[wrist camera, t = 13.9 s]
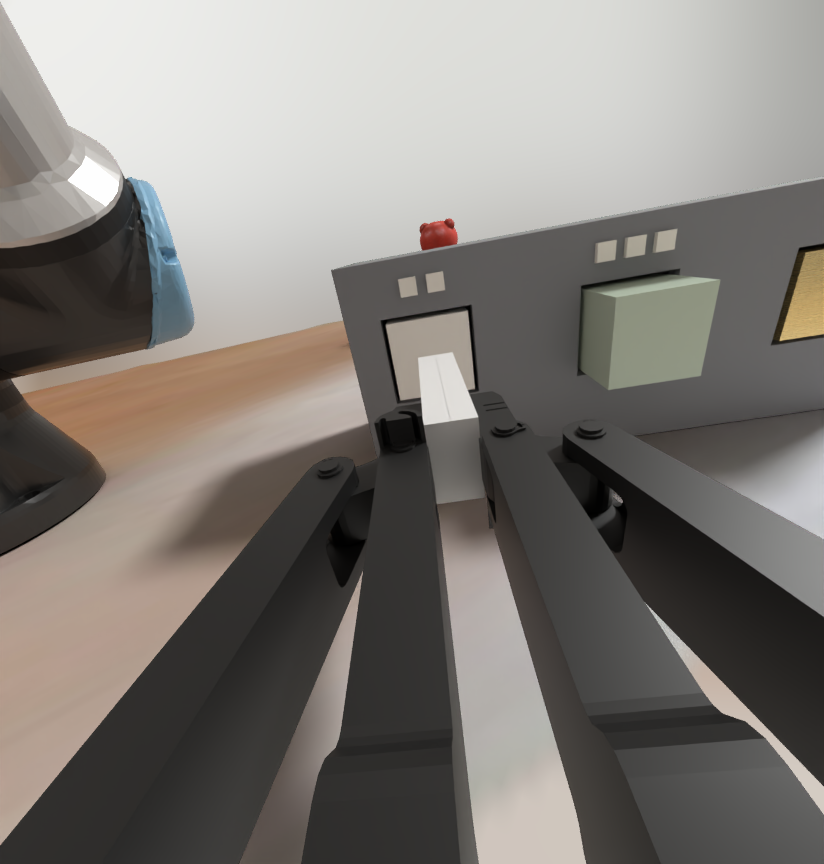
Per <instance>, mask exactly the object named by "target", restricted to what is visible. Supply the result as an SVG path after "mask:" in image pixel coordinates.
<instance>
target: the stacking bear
mask: <svg viewBox="0 0 824 864" xmlns="http://www.w3.org/2000/svg"><path fill="white" fill-rule="evenodd" d="M420 233H421V237H420V244H421V248H422V250H423V251H424V250H429V249H434V248H440V247H445V246H450V245H456V244H457V240H458V239H457V232H456V230H455V228H454V222H453V220H452V219H446V220H445V221H438V222H433V223H430V224H427V223H424V224H422V225H421V226H420Z"/></svg>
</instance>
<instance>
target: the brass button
mask: <svg viewBox="0 0 824 864" xmlns="http://www.w3.org/2000/svg"><path fill="white" fill-rule="evenodd" d="M821 334H824V243H823V244H817V245H811V246H806V247H800V248H799V249H798V253H797V256H796V260H795V263H794V267H793V270H792V274H791V277H790V281H789V284H788V288H787V291H786V294H785V298H784V301H783V305H782V308H781V312H780V315H779V319H778V322H777V326H776V329H775V333H774V336H773V339H774V340H778V341H782V340H789V339H795V338H802V337H808V336H814V335H821Z"/></svg>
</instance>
